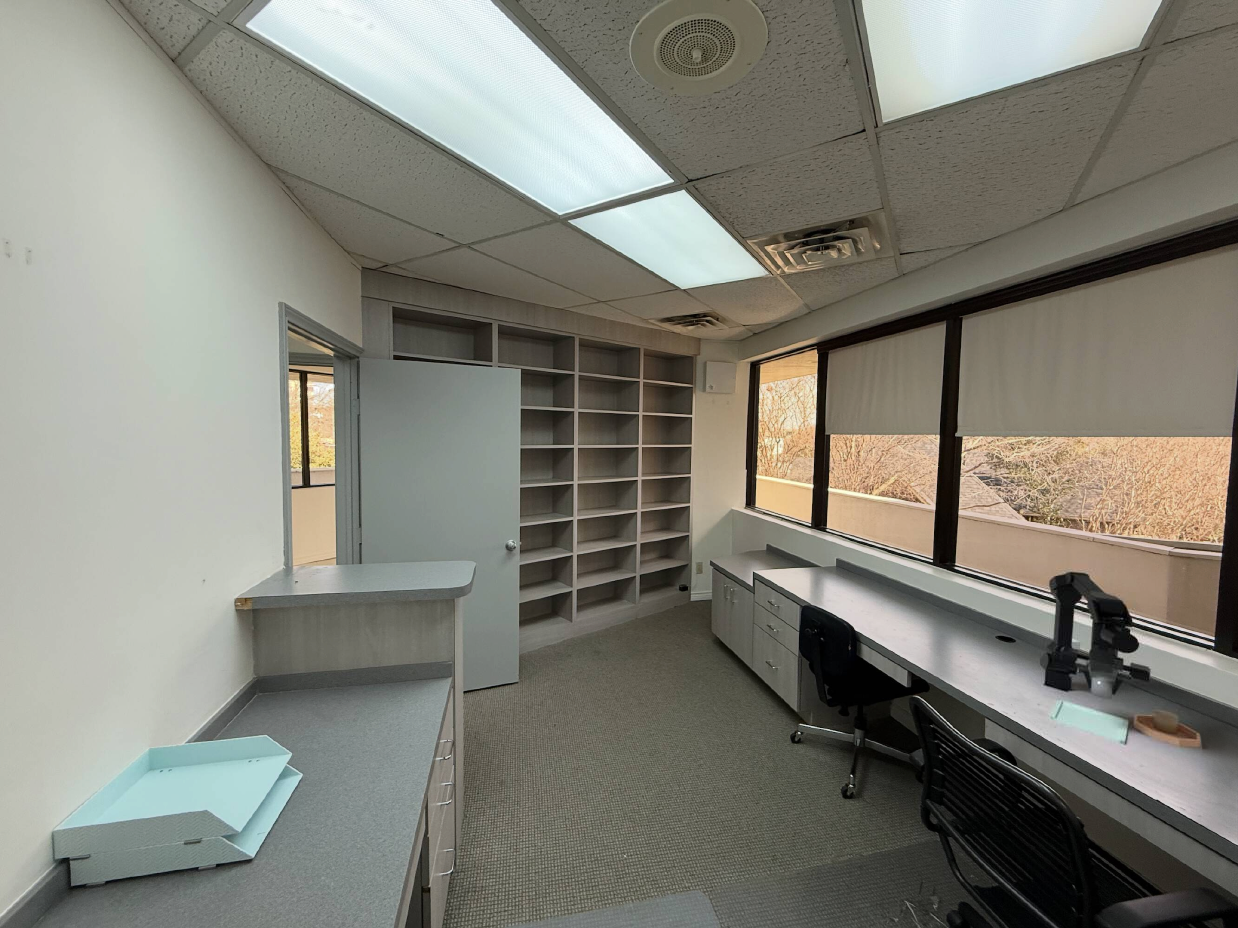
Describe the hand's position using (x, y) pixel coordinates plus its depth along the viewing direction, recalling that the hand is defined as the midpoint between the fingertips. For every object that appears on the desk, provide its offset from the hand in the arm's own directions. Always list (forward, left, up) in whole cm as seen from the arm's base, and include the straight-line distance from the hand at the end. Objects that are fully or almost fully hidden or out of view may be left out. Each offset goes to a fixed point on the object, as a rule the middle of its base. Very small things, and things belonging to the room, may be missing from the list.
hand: (1101, 691), depth 144 cm
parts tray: (-2, +3, -12) cm, 13 cm away
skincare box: (-12, +47, -12) cm, 50 cm away
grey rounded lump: (0, 0, -1) cm, 1 cm away
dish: (+13, +12, -12) cm, 21 cm away
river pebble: (+13, +14, -11) cm, 22 cm away
